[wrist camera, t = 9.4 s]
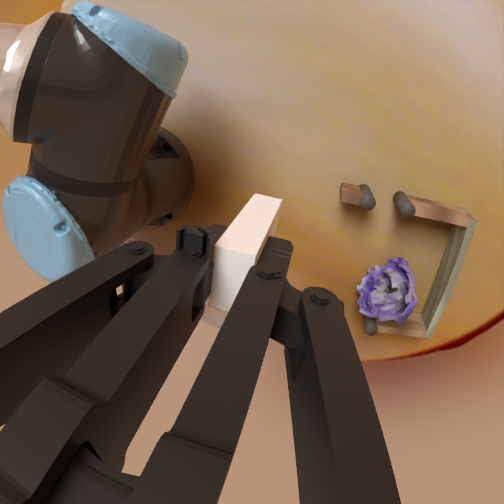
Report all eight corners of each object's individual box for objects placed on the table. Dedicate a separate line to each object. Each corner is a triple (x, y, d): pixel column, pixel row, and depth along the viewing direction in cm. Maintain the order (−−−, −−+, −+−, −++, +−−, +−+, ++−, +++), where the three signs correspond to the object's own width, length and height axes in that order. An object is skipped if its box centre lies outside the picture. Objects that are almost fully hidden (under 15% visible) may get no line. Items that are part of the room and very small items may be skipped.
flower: (451, 306, 35) (401, 310, 32) (411, 329, 42) (360, 335, 39) (430, 246, 40) (379, 241, 37) (395, 275, 46) (345, 274, 44)
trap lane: (317, 306, 47) (315, 327, 43) (341, 180, 38) (343, 190, 34) (424, 321, 44) (430, 342, 40) (465, 206, 35) (479, 219, 31)
